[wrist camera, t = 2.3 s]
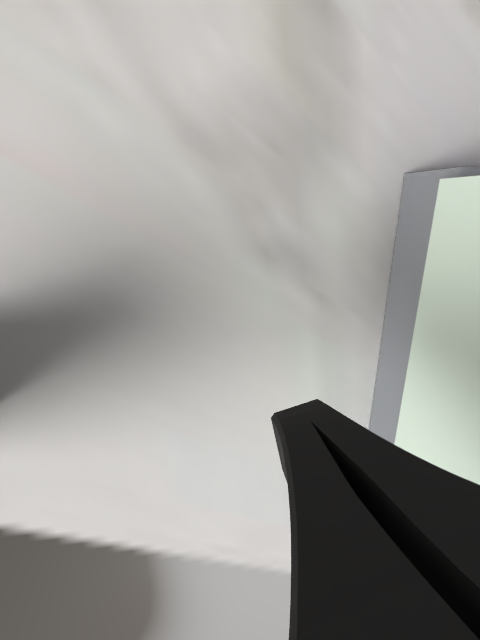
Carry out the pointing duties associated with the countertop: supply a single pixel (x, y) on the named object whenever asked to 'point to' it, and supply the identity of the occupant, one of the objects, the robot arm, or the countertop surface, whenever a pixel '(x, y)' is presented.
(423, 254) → the grey open tray
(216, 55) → the countertop surface
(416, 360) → the cover
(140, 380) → the countertop surface
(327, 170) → the countertop surface
